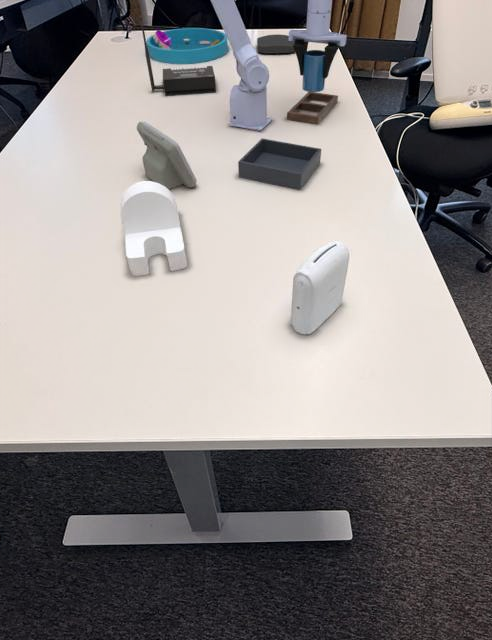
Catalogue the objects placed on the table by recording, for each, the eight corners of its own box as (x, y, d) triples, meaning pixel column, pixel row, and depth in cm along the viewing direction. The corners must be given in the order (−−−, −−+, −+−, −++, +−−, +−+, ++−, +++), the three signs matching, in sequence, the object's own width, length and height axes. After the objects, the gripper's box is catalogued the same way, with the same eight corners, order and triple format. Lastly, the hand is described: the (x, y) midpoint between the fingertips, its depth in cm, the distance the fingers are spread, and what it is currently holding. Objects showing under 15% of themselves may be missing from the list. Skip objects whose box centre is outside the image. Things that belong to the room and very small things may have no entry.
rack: (286, 119, 121) (287, 112, 119) (308, 98, 131) (308, 91, 129) (318, 124, 118) (318, 117, 117) (337, 102, 128) (338, 95, 127)
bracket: (187, 268, 78) (178, 211, 69) (131, 276, 77) (114, 219, 68) (177, 213, 90) (168, 158, 82) (128, 219, 89) (113, 164, 80)
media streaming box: (296, 54, 158) (297, 44, 156) (257, 54, 159) (256, 44, 156) (295, 42, 168) (295, 33, 166) (257, 43, 168) (257, 33, 166)
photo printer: (308, 339, 66) (315, 275, 57) (286, 327, 68) (289, 263, 59) (344, 304, 71) (357, 240, 62) (323, 293, 73) (331, 229, 64)
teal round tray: (161, 39, 175) (158, 21, 170) (234, 40, 172) (233, 22, 167) (138, 62, 156) (134, 43, 151) (219, 64, 153) (218, 44, 148)
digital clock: (199, 189, 96) (193, 140, 88) (161, 199, 94) (151, 149, 86) (176, 159, 106) (168, 112, 98) (140, 168, 104) (129, 120, 95)
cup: (299, 90, 116) (301, 55, 110) (306, 83, 119) (308, 48, 113) (319, 93, 114) (323, 57, 108) (326, 86, 118) (330, 51, 111)
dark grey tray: (238, 177, 100) (238, 161, 97) (261, 153, 107) (261, 138, 105) (300, 190, 96) (301, 174, 93) (320, 164, 103) (321, 148, 100)
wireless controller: (213, 77, 144) (207, 12, 131) (216, 92, 135) (211, 24, 122) (152, 81, 143) (141, 16, 129) (151, 96, 134) (139, 28, 120)
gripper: (353, 9, 104) (345, 74, 115) (296, 4, 108) (293, 67, 119) (344, 16, 100) (337, 82, 110) (286, 11, 104) (284, 75, 114)
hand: (314, 75), depth 114 cm, fingers closed on cup, 6 cm apart
